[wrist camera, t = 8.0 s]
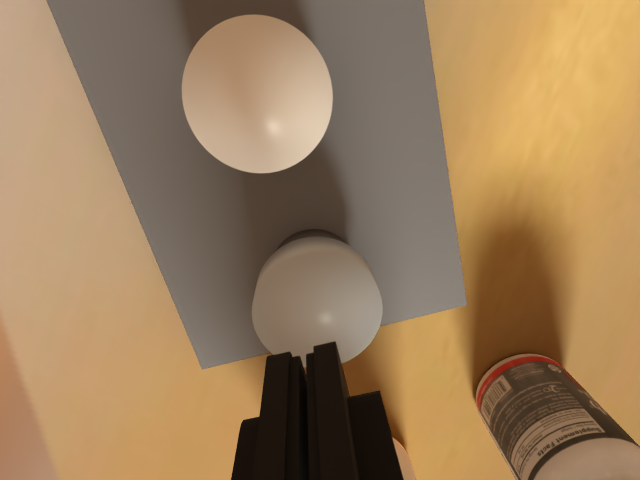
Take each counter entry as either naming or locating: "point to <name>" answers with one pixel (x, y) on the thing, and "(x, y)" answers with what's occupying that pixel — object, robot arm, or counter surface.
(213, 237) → the button panel
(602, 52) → the counter surface
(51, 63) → the counter surface
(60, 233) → the counter surface
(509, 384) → the pill bottle
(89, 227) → the counter surface
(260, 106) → the white button
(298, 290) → the bluegrey button
